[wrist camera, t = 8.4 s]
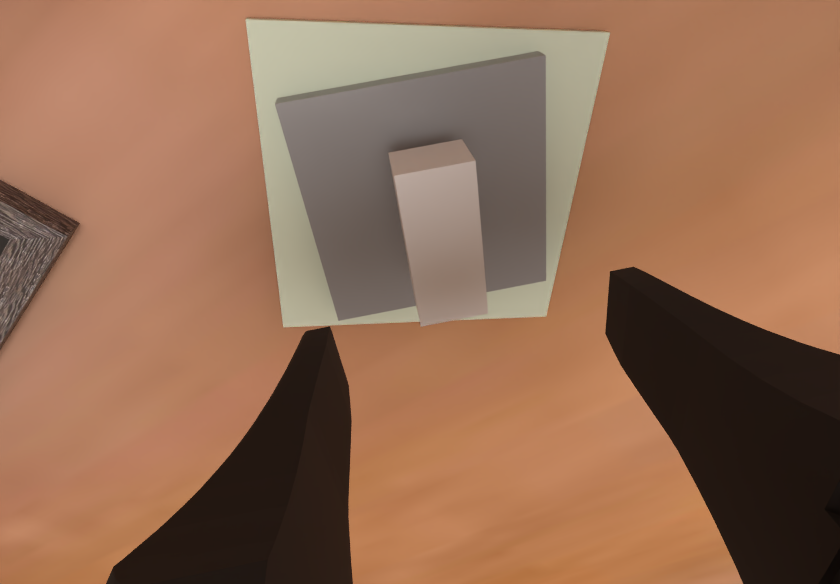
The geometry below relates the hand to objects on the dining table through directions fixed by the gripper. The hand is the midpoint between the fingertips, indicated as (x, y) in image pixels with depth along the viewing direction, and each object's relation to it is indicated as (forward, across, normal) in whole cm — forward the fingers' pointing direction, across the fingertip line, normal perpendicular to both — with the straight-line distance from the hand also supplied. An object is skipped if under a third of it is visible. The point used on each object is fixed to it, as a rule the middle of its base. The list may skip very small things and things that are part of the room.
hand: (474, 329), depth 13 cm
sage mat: (+9, 0, 0) cm, 9 cm away
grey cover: (+8, 0, 0) cm, 8 cm away
